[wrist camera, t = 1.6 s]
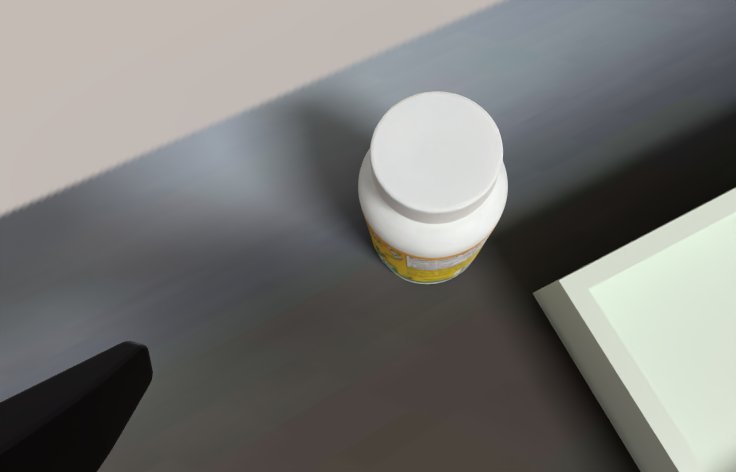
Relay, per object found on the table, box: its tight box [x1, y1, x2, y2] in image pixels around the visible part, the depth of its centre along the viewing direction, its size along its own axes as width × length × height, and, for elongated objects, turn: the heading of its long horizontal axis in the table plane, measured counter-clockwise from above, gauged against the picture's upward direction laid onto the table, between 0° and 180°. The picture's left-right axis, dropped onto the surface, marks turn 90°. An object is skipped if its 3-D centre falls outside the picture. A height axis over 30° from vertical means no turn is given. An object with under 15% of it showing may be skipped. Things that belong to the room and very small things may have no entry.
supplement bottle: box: [358, 91, 508, 284], centre depth 18 cm, size 5×5×10 cm
